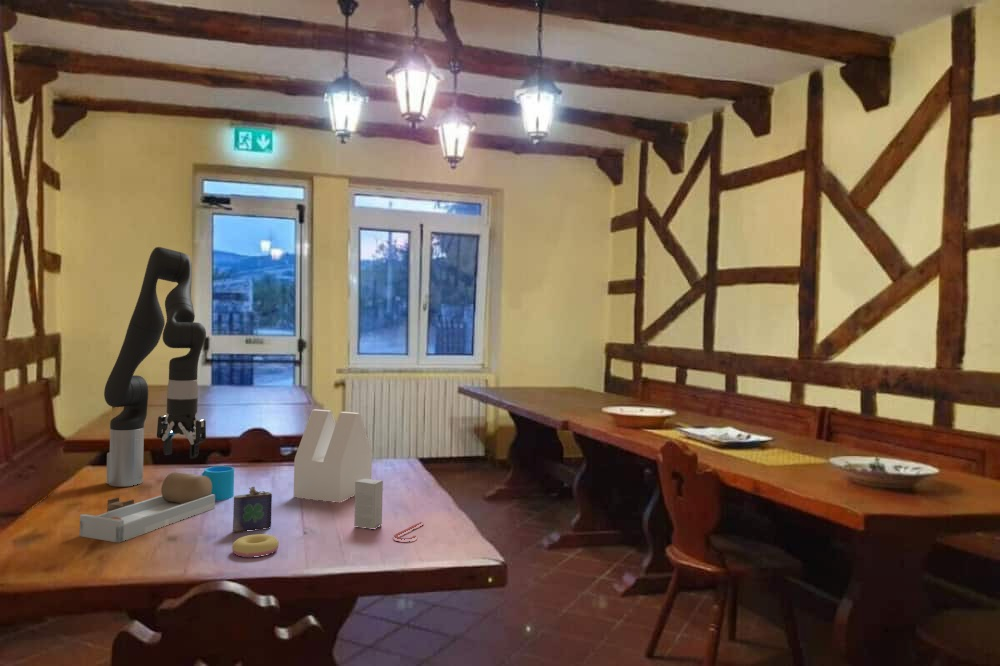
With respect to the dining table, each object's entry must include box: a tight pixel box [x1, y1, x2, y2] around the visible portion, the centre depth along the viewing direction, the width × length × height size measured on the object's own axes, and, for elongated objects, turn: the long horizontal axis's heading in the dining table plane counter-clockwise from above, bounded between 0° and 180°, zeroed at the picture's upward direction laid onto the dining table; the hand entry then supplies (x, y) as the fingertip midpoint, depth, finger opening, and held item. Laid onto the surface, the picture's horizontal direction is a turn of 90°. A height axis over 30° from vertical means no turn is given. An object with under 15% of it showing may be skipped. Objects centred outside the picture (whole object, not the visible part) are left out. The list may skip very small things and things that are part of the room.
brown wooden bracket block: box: [106, 496, 135, 513], centre depth 188 cm, size 6×3×3 cm, turn 72°
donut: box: [231, 533, 280, 558], centre depth 161 cm, size 10×5×9 cm
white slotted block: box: [293, 409, 373, 503], centre depth 215 cm, size 19×15×25 cm
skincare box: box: [353, 478, 384, 528], centre depth 183 cm, size 6×4×12 cm
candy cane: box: [393, 521, 423, 540], centre depth 178 cm, size 6×15×2 cm, turn 156°
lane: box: [79, 471, 216, 544], centre depth 181 cm, size 12×32×10 cm, turn 162°
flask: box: [232, 486, 273, 533], centre depth 177 cm, size 9×3×11 cm, turn 121°
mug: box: [200, 465, 235, 502], centre depth 207 cm, size 12×8×8 cm
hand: (180, 456), depth 190 cm, fingers open, 8 cm apart
